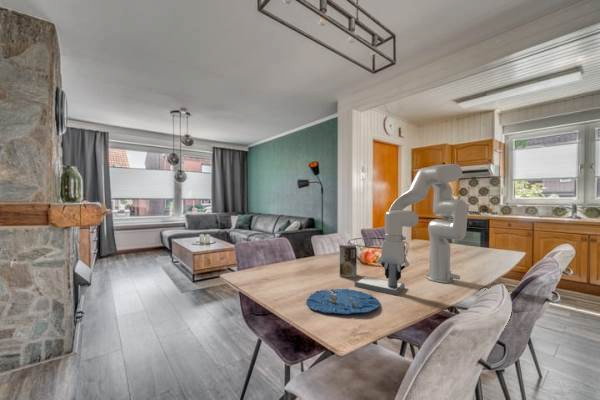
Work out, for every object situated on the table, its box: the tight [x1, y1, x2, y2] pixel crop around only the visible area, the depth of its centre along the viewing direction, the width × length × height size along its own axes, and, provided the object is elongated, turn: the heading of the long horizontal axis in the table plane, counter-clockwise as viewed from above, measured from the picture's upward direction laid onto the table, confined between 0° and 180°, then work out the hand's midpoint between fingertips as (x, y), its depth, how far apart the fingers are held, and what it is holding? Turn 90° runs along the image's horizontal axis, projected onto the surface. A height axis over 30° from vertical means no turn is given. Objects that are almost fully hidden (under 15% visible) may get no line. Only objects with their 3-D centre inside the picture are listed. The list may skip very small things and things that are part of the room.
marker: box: [387, 263, 399, 288], centre depth 117 cm, size 4×4×14 cm
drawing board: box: [354, 275, 405, 296], centre depth 123 cm, size 20×12×2 cm, turn 55°
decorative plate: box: [305, 288, 381, 315], centre depth 105 cm, size 30×30×5 cm
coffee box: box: [338, 244, 358, 278], centre depth 141 cm, size 9×6×16 cm
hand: (392, 278), depth 117 cm, fingers closed on marker, 4 cm apart
